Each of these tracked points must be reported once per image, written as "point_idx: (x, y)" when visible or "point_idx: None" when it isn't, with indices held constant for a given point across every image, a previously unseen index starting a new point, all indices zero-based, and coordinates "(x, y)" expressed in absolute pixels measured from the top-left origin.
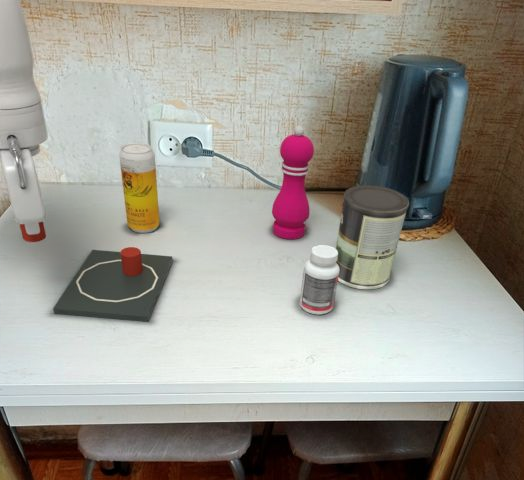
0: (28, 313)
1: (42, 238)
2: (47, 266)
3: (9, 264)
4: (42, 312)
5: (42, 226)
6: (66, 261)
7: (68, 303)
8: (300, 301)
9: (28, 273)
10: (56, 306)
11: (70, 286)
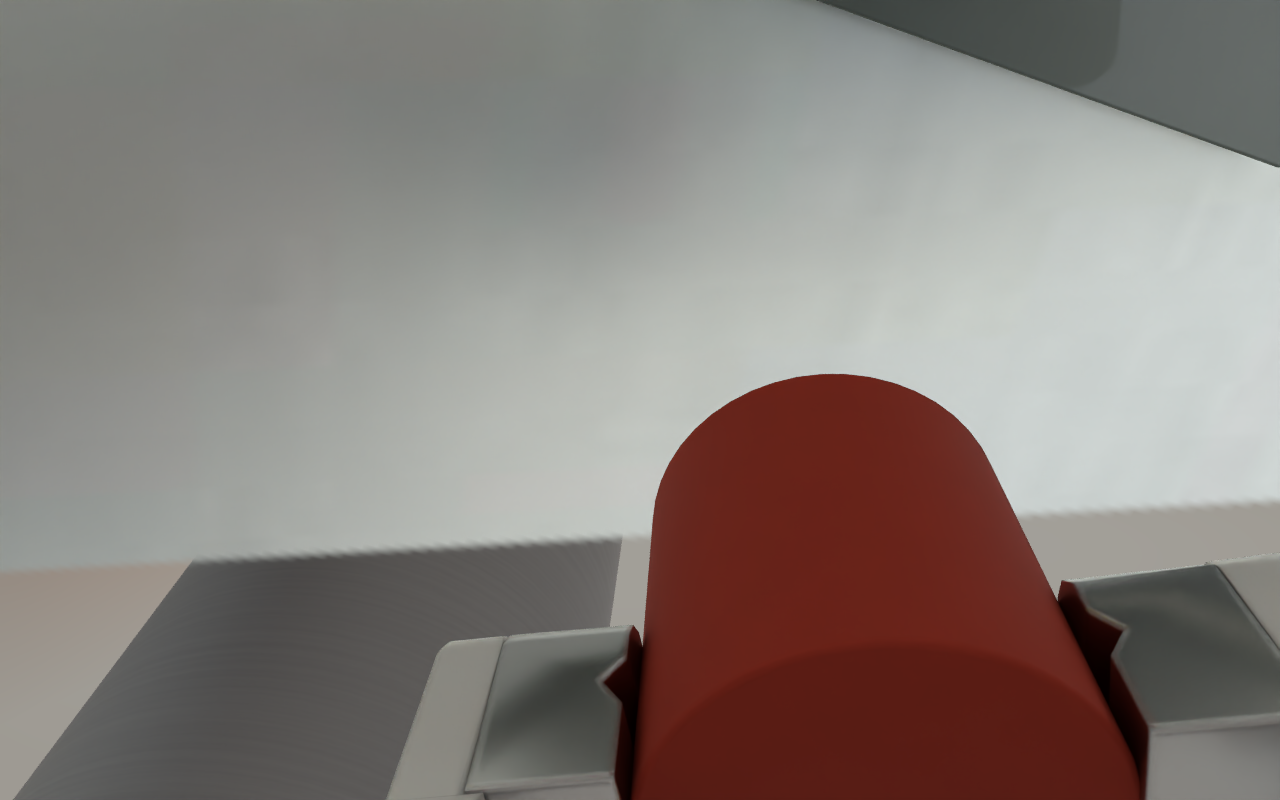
0: (1150, 358)
1: (965, 430)
2: (381, 240)
3: (338, 527)
4: (1180, 253)
5: (948, 503)
6: (284, 62)
7: (1257, 18)
8: None
9: (496, 388)
10: (1265, 137)
11: (919, 3)
